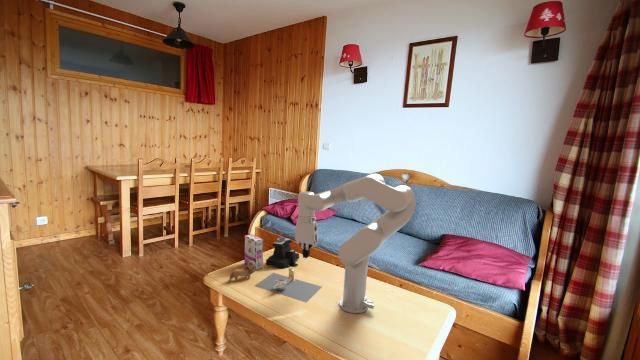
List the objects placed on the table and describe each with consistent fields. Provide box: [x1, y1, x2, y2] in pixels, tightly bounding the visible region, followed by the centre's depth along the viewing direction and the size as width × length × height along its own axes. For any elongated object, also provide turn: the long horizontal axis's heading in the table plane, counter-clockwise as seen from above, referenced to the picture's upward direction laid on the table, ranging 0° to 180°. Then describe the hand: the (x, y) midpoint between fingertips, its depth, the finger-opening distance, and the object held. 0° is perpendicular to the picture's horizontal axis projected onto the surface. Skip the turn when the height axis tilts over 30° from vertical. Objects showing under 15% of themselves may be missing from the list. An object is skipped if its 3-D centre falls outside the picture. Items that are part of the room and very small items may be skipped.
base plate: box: [254, 272, 323, 303], centre depth 150 cm, size 28×16×1 cm, turn 64°
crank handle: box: [273, 267, 295, 291], centre depth 149 cm, size 16×6×5 cm, turn 155°
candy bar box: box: [244, 233, 264, 271], centre depth 171 cm, size 11×5×16 cm, turn 44°
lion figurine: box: [228, 261, 255, 284], centre depth 154 cm, size 15×5×9 cm, turn 132°
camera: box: [265, 237, 300, 269], centre depth 177 cm, size 16×14×15 cm
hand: (306, 257), depth 147 cm, fingers closed
